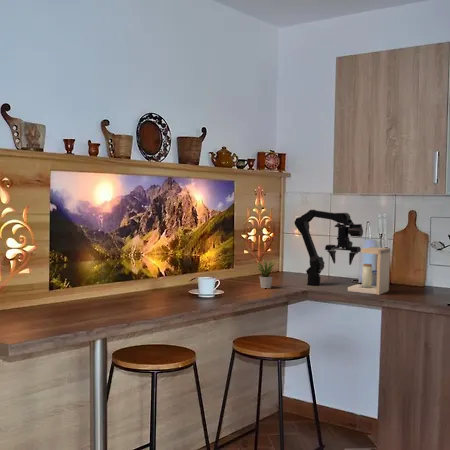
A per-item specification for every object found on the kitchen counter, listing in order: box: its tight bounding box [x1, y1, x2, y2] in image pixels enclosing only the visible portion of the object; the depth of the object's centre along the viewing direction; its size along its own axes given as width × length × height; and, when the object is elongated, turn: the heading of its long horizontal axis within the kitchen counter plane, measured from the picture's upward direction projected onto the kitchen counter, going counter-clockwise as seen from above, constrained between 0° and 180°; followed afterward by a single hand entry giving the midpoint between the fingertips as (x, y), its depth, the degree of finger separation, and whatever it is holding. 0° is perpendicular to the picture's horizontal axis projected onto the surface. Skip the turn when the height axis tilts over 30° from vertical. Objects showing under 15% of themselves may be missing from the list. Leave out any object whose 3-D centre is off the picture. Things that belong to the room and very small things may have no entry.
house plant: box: [256, 258, 278, 289], centre depth 353 cm, size 14×14×16 cm
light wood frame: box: [347, 246, 391, 296], centre depth 350 cm, size 18×16×23 cm
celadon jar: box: [361, 263, 373, 289], centre depth 351 cm, size 5×5×14 cm
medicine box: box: [371, 269, 377, 286], centre depth 373 cm, size 8×4×9 cm, turn 37°
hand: (342, 264), depth 359 cm, fingers open, 9 cm apart
